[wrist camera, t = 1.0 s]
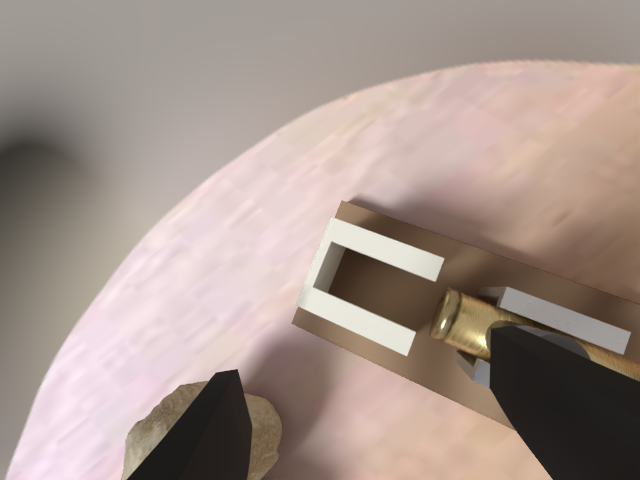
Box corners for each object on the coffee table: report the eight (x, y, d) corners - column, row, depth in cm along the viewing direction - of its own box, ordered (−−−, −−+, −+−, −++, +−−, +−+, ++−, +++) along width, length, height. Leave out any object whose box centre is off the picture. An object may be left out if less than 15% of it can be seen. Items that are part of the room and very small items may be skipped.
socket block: (432, 265, 20) (444, 258, 15) (403, 340, 20) (406, 356, 15) (344, 232, 22) (331, 216, 17) (316, 301, 21) (295, 305, 17)
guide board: (674, 320, 18) (798, 334, 12) (621, 476, 17) (726, 562, 12) (343, 204, 23) (329, 177, 17) (295, 322, 22) (265, 332, 17)
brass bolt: (663, 372, 16) (957, 462, 8) (644, 427, 16) (924, 580, 8) (444, 287, 19) (486, 285, 11) (426, 333, 19) (455, 368, 10)
